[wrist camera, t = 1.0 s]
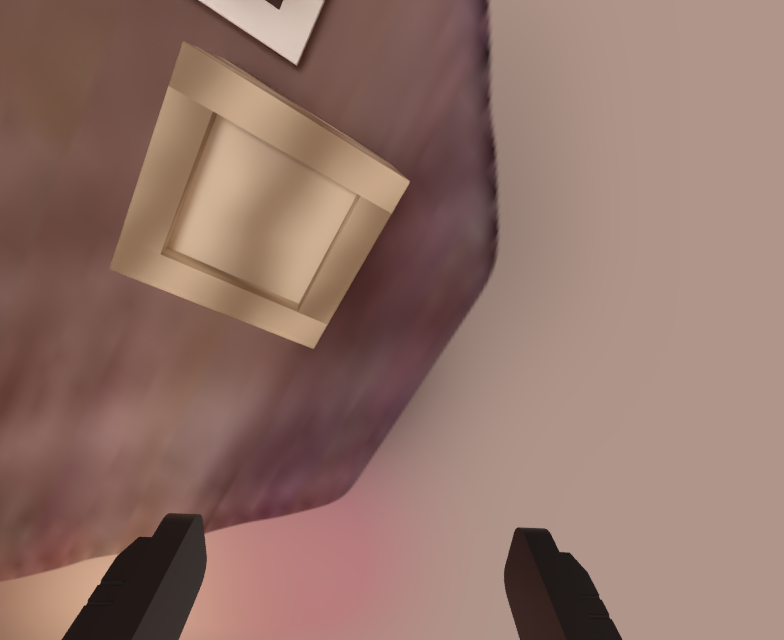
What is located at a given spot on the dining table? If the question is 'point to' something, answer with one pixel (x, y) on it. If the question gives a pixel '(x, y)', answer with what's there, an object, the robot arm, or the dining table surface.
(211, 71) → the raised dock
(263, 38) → the frame
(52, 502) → the dining table surface
